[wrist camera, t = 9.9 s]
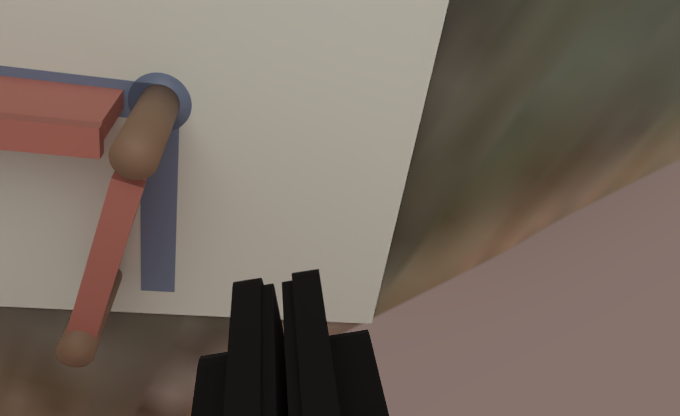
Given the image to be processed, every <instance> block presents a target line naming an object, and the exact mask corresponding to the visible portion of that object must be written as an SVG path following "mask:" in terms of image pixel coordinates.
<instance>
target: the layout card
mask: <svg viewBox="0 0 680 416" xmlns="http://www.w3.org/2000/svg"><path fill="white" fill-rule="evenodd" d="M448 2H449V0H0V76H8V77H17V78H25V79H34V80H43V81H52V82H60V83H69V84H78V85H87V86H96V87H104V88H113V89H122V90H123V95H124V109H123V110H122V112H121V114H120V115H119V117H118V118H117V120H116V122H115V123H114V125H113V126H112V128H111V130H110V131H109V133H108V134H107V136H106V138H105V139H104V154H103V155H102V157H101V159H93V158H82V157H72V156H61V155H50V154H39V153H28V152H18V151H7V150H0V306H5V307H26V308H47V309H69V310H73V309H74V305H75V302H76V298H77V295H78V291H79V288H80V284H81V281H82V277H83V274H84V271H85V267H86V264H87V260H88V257H89V253H90V250H91V246H92V243H93V239H94V236H95V232H96V229H97V225H98V222H99V218H100V215H101V211H102V208H103V204H104V201H105V198H106V194H107V191H108V187H109V184H110V180H111V177H112V175H113V173H114V172H115V170H114V169H113V168H112V166H111V164H110V162H109V157H108V154H109V149H110V147H111V145H112V144H113V142H114V140H115V138H116V137H117V135H118V133H119V131H120V130H121V128H122V126H123V125H124V123H125V121H126V119H127V118H128V116H129V114H130V113H131V111H132V109H133V107H134V106H135V104H136V102H137V101H138V99H139V97H140V95H141V94H142V92H143V91H144V90H145V89H146V88H147V87H149V86H151V85H155V84H161V85H165V86H167V87H169V88H171V89H172V90H173V91H174V92H175V93H176V94H177V96H178V98H179V102H180V108H179V111H178V114H177V117H176V120H175V122H174V125H173V128H172V130H171V133H170V136H169V138H168V141H167V144H166V146H165V149H164V152H163V155H162V157H161V160H160V163H159V165H158V168H157V170H156V171H155V173H154V174H153V175H152V176H150V177H148V178H146V185H145V188H144V191H143V194H142V197H141V200H140V203H139V206H138V210H137V213H136V216H135V219H134V222H133V225H132V228H131V232H130V235H129V238H128V241H127V244H126V247H125V250H124V254H123V257H122V260H121V263H120V266H119V269H120V271H121V272H122V280H121V283H120V286H119V289H118V291H117V294H116V297H115V300H114V303H113V305H112V308H111V311H112V312H133V313H154V314H176V315H197V316H219V317H230V313H231V300H232V286H233V282H236V281H243V280H249V279H256V278H262V280H263V284H264V285H266V284H272V283H273V284H274V287H275V292H276V297H277V302H278V307H279V312H280V317H281V319H283V299H282V282H285V281H292V273H295V272H302V271H308V270H315V269H319V273H320V280H321V287H322V293H323V300H324V307H325V313H326V320H327V322H347V323H368V324H371V323H372V320H373V316H374V312H375V307H376V303H377V299H378V295H379V291H380V287H381V282H382V278H383V274H384V270H385V266H386V261H387V257H388V253H389V249H390V245H391V241H392V236H393V232H394V228H395V224H396V220H397V216H398V211H399V207H400V203H401V199H402V195H403V190H404V186H405V182H406V178H407V174H408V170H409V165H410V161H411V157H412V153H413V149H414V145H415V140H416V136H417V132H418V128H419V124H420V119H421V115H422V111H423V107H424V103H425V99H426V94H427V90H428V86H429V82H430V78H431V73H432V69H433V65H434V61H435V57H436V53H437V48H438V44H439V40H440V36H441V32H442V28H443V23H444V19H445V15H446V11H447V7H448ZM283 320H284V319H283Z"/></svg>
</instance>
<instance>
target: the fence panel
mask: <svg viewBox="0 0 680 416" xmlns="http://www.w3.org/2000/svg"><path fill="white" fill-rule="evenodd" d="M145 185H146V179H143V180H130V179H127V178H124V177H122V176H121V175H119V174H118V173H117V172H116V171H115V172H114V173H113V175H112V177H111V180H110V184H109V187H108V191H107V194H106V198H105V201H104V204H103V208H102V211H101V215H100V218H99V222H98V225H97V229H96V232H95V236H94V239H93V243H92V246H91V250H90V253H89V257H88V260H87V264H86V267H85V271H84V274H83V277H82V281H81V284H80V288H79V291H78V295H77V298H76V302H75V305H74V309H73V312H72V314H71V316H70V319H69V321H68V323H67V325H66V327H65V330H64V332H63V334H62V336H61V339H60V341H59V343H58V345H57V348H56V351H55V354H56V357H57V359H58V360H59V361H60V362H61V363H63V364H64V365H67V366H70V367H84V366H86V365H88V364H90V363H91V362H92V360H93V359H94V356H95V353H96V350H97V347H98V345H99V342H100V339H101V336H102V333H103V331H104V328H105V325H106V322H107V319H108V317H109V314H110V311H111V308H112V305H113V303H114V300H115V297H116V294H117V291H118V289H119V286H120V283H121V280H122V272H121V271H120V269H119V266H120V263H121V260H122V257H123V254H124V250H125V247H126V244H127V241H128V238H129V235H130V232H131V228H132V225H133V222H134V219H135V216H136V213H137V210H138V206H139V203H140V200H141V197H142V194H143V191H144V188H145Z"/></svg>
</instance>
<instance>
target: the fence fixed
mask: <svg viewBox="0 0 680 416" xmlns="http://www.w3.org/2000/svg"><path fill="white" fill-rule="evenodd" d="M179 108H180V102H179V98H178V96H177V94H176V93H175V92H174V91H173V90H172V89H171V88H169V87H167V86H165V85H161V84H155V85H151V86H149V87H147V88H146V89H145V90H144V91H143V92H142V94H141V95H140V97H139V99H138V101H137V102H136V104H135V106H134V107H133V109H132V111H131V113H130V114H129V116H128V118H127V119H126V121H125V123H124V125H123V126H122V128H121V130H120V131H119V133H118V135H117V137H116V138H115V140H114V142H113V144H112V145H111V147H110V149H109V154H108V157H109V162H110V164H111V166H112V168H113V169H114V170H115V171H116V172H117V173H118V174H119V175H121V176H122V177H124V178H127V179H130V180H143V179H146V178H148V177H150V176H152V175H153V174H154V173H155V171H156V170H157V168H158V165H159V163H160V160H161V157H162V155H163V152H164V149H165V146H166V144H167V141H168V138H169V136H170V133H171V130H172V128H173V125H174V122H175V120H176V117H177V114H178V111H179ZM123 109H124V95H123V90H122V89H113V88H104V87H96V86H87V85H78V84H69V83H60V82H52V81H43V80H34V79H25V78H17V77H8V76H0V150H7V151H18V152H28V153H39V154H50V155H61V156H72V157H82V158H93V159H101V157H102V155H103V154H104V139H105V138H106V136H107V134H108V133H109V131H110V130H111V128H112V126H113V125H114V123H115V122H116V120H117V118H118V117H119V115H120V114H121V112H122V110H123Z"/></svg>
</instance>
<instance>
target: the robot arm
mask: <svg viewBox="0 0 680 416" xmlns="http://www.w3.org/2000/svg"><path fill="white" fill-rule="evenodd" d="M282 299H283V319H284V332H283V327H282V322H281V317H280V312H279V307H278V302H277V297H276V292H275V287H274V284H273V283H272V284H266V285H264V284H263V280H262V278H256V279H249V280H243V281H236V282H233V286H232V300H231V313H230V327H229V340H228V352H224V353H218V354H212V355H205V356H201V357H200V359H199V362H198V368H197V375H196V383H195V390H194V398H193V405H192V413H191V416H389V414H388V410H387V406H386V401H385V397H384V393H383V389H382V385H381V381H380V377H379V372H378V368H377V364H376V360H375V356H374V351H373V348H372V343H371V339H370V335H369V332H368V330H362V331H356V332H350V333H343V334H337V335H331V336H329V333H328V327H327V320H326V313H325V307H324V300H323V293H322V287H321V280H320V273H319V269H315V270H308V271H302V272H295V273H292V281H285V282H282Z"/></svg>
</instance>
